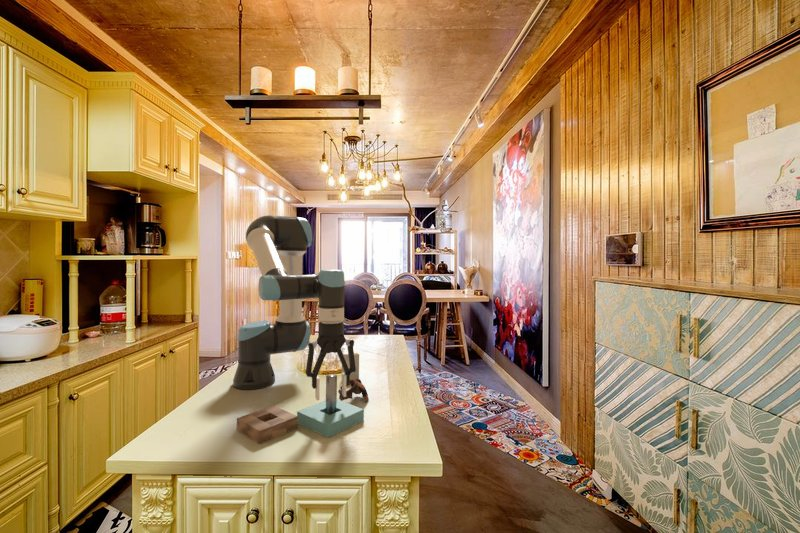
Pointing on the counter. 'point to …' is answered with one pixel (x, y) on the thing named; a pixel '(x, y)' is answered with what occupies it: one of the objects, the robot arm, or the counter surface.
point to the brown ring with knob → (354, 390)
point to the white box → (355, 374)
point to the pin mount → (267, 424)
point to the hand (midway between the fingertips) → (330, 396)
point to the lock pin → (331, 394)
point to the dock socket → (330, 418)
